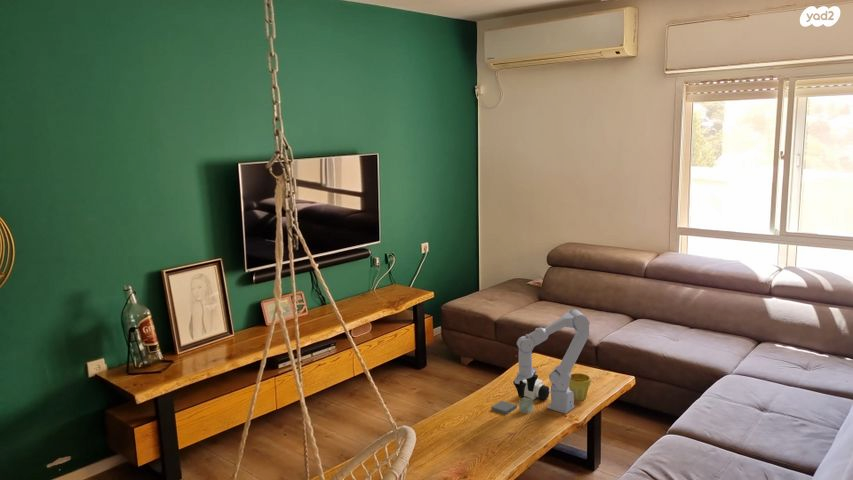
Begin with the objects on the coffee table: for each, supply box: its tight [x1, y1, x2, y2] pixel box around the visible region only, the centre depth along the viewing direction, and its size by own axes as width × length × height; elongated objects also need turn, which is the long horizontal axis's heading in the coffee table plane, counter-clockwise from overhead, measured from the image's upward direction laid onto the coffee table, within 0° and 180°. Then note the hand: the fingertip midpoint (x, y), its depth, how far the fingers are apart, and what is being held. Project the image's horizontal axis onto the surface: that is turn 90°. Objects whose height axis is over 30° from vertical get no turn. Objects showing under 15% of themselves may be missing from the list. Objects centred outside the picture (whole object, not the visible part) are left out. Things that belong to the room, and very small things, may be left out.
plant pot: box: [568, 372, 592, 402], centre depth 295 cm, size 10×10×10 cm
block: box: [490, 400, 518, 416], centre depth 288 cm, size 8×8×2 cm
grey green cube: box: [518, 396, 535, 415], centre depth 284 cm, size 5×5×5 cm
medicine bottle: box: [522, 378, 551, 401], centre depth 298 cm, size 7×7×12 cm
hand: (525, 394), depth 283 cm, fingers open, 7 cm apart
